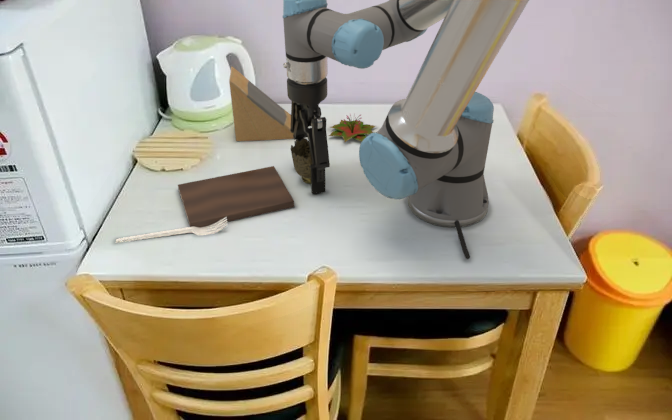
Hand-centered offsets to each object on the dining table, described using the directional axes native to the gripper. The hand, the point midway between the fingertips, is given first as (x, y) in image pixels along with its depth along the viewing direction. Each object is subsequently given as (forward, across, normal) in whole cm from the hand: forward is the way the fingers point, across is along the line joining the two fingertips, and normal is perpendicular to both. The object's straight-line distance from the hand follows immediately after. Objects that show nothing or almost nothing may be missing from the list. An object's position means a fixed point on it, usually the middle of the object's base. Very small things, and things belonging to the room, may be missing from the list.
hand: (310, 179), depth 123 cm
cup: (0, 0, 0) cm, 0 cm away
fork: (+1, +8, -29) cm, 30 cm away
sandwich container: (0, -24, -2) cm, 24 cm away
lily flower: (0, -16, +16) cm, 23 cm away
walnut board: (0, +1, -16) cm, 16 cm away
